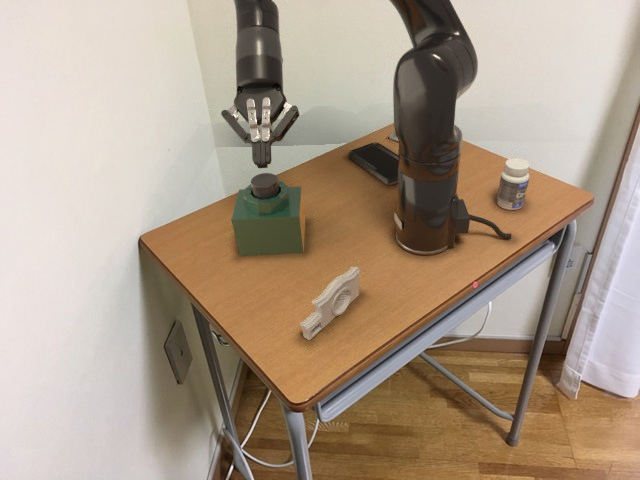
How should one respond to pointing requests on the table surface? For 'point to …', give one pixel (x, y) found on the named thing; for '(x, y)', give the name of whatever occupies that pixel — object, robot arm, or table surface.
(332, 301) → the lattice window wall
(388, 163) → the phone
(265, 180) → the dark push button
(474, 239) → the table surface
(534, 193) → the table surface
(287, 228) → the dispenser
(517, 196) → the pill bottle
